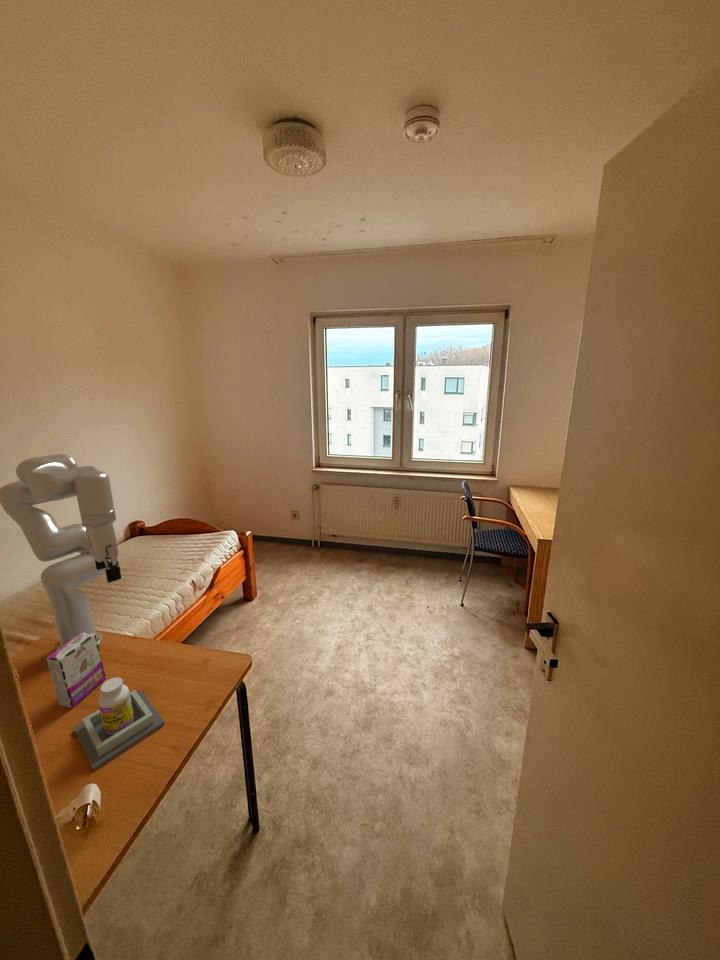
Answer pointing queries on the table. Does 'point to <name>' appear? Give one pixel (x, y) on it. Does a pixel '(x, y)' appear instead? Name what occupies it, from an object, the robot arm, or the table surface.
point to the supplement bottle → (115, 706)
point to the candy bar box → (76, 669)
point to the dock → (109, 746)
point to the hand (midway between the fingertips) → (108, 574)
